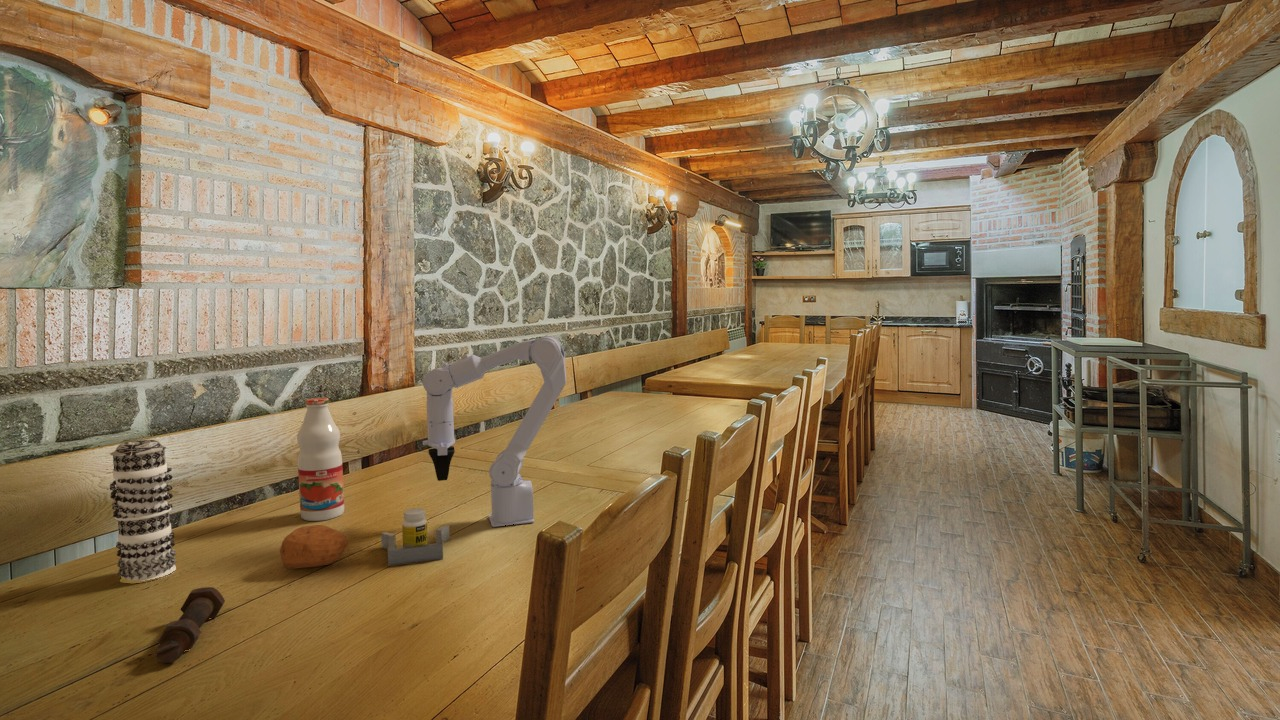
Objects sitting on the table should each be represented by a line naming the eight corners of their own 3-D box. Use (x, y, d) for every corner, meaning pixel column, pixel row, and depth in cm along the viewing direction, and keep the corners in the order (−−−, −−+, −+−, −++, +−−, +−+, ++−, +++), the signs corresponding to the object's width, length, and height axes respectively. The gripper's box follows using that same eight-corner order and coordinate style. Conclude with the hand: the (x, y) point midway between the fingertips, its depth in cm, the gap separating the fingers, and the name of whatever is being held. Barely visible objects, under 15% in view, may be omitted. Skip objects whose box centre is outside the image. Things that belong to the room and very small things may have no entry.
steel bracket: (449, 538, 136) (448, 524, 135) (452, 557, 125) (451, 543, 125) (381, 546, 131) (381, 532, 131) (378, 567, 120) (378, 552, 120)
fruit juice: (345, 507, 157) (340, 395, 155) (343, 518, 149) (338, 400, 146) (302, 512, 154) (296, 397, 151) (298, 524, 145) (292, 403, 142)
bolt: (163, 680, 88) (201, 625, 102) (198, 658, 89) (231, 606, 103) (135, 649, 86) (177, 598, 101) (171, 627, 87) (208, 579, 102)
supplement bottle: (418, 557, 125) (416, 515, 125) (397, 554, 127) (396, 513, 126) (432, 548, 130) (431, 508, 129) (413, 546, 131) (411, 506, 131)
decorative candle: (191, 567, 121) (182, 438, 119) (139, 588, 112) (128, 449, 110) (157, 561, 124) (148, 435, 122) (104, 581, 115) (93, 445, 113)
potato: (301, 555, 127) (299, 519, 126) (357, 555, 126) (355, 519, 126) (273, 575, 118) (271, 535, 117) (333, 575, 117) (331, 536, 117)
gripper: (421, 416, 149) (423, 473, 150) (422, 427, 136) (424, 490, 137) (452, 415, 152) (454, 470, 153) (456, 425, 138) (458, 486, 139)
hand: (442, 479), depth 145 cm, fingers closed
